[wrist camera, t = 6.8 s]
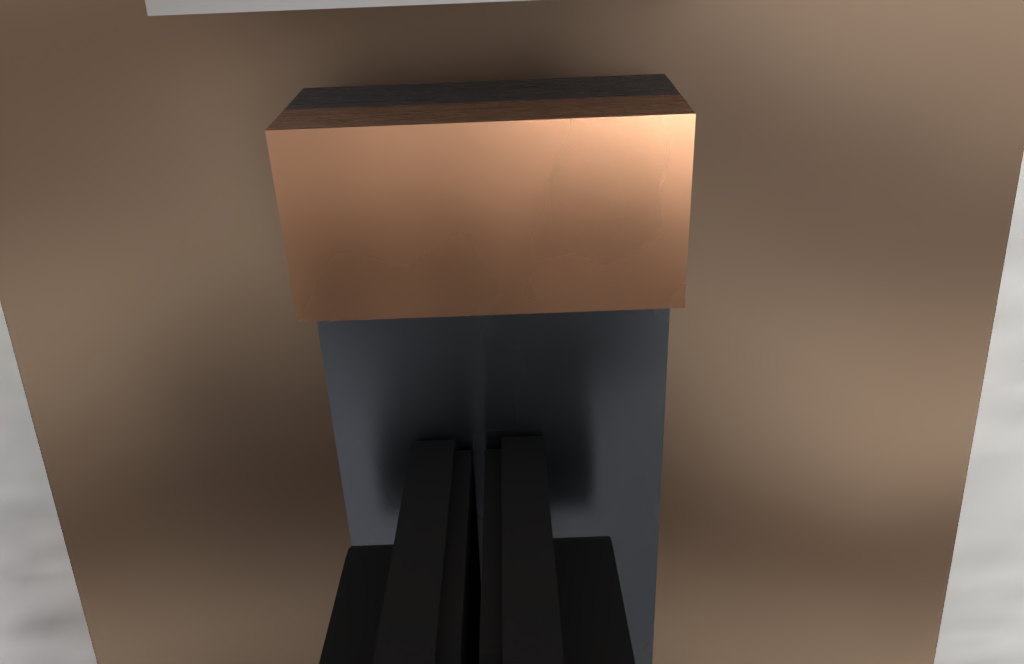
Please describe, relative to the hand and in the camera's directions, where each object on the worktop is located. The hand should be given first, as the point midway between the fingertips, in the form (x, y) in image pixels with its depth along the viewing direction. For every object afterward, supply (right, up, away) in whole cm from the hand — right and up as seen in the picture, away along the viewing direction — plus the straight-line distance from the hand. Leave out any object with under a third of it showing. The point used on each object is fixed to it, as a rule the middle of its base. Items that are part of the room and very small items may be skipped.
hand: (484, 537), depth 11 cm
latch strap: (0, -4, +4) cm, 5 cm away
